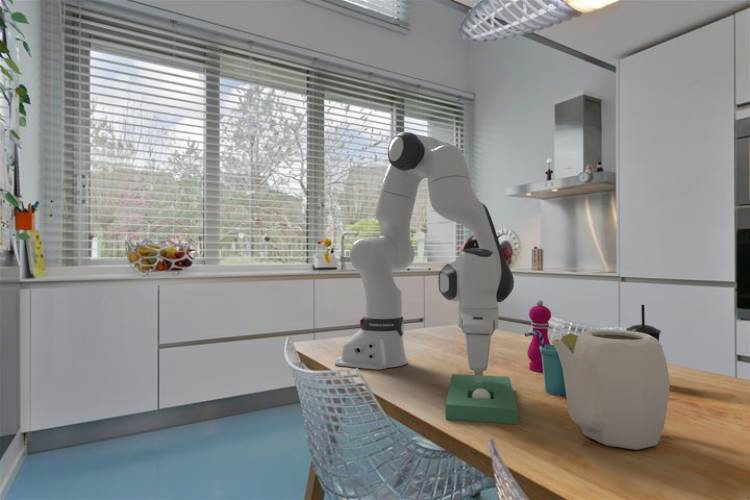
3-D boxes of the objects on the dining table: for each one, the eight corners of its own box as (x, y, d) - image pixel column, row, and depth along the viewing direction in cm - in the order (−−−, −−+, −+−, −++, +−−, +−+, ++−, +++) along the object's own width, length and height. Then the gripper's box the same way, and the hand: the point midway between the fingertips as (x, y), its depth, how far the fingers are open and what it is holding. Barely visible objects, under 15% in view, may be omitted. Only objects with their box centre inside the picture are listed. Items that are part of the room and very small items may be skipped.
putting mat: (445, 419, 92) (445, 404, 92) (452, 385, 115) (452, 373, 115) (517, 424, 88) (517, 408, 88) (509, 388, 112) (509, 376, 112)
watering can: (523, 434, 84) (521, 332, 84) (629, 415, 93) (628, 323, 93) (590, 471, 69) (588, 348, 69) (708, 444, 78) (706, 335, 78)
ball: (471, 410, 97) (471, 392, 96) (471, 401, 101) (471, 384, 100) (490, 411, 96) (490, 393, 95) (490, 403, 100) (490, 385, 99)
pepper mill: (550, 366, 133) (549, 298, 133) (557, 373, 126) (556, 301, 126) (525, 366, 134) (524, 298, 134) (530, 372, 127) (529, 301, 127)
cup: (534, 399, 104) (533, 333, 104) (518, 389, 111) (517, 328, 111) (589, 395, 106) (588, 331, 106) (570, 386, 113) (569, 326, 114)
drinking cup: (664, 382, 116) (663, 304, 116) (658, 388, 110) (656, 307, 111) (631, 377, 121) (630, 302, 122) (623, 383, 116) (622, 305, 116)
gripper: (465, 313, 113) (466, 368, 113) (462, 326, 93) (462, 393, 93) (491, 314, 112) (492, 369, 112) (493, 327, 92) (494, 395, 92)
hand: (478, 380), depth 102 cm, fingers closed
